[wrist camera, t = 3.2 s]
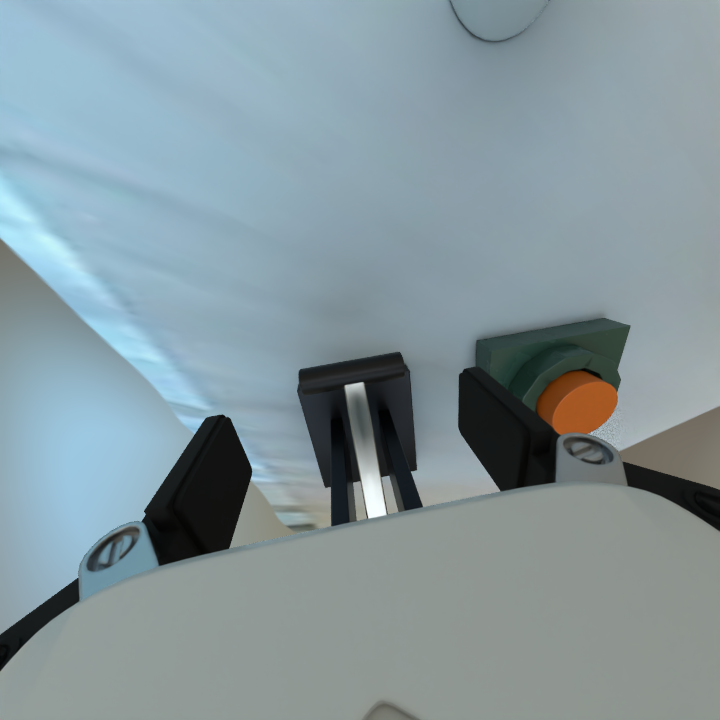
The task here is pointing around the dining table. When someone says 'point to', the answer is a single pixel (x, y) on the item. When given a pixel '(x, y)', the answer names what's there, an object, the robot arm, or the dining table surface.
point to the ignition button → (576, 403)
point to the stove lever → (358, 412)
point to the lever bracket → (338, 451)
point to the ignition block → (553, 356)
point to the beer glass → (497, 16)
